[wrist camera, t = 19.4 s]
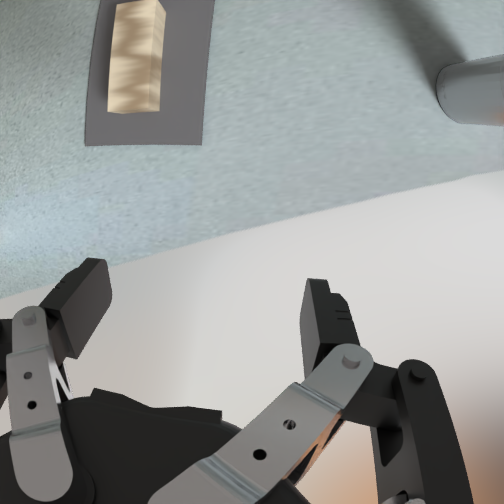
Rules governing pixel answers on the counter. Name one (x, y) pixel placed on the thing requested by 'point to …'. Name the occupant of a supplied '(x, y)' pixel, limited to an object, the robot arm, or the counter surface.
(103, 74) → the mat
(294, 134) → the counter surface
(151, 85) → the wooden block
